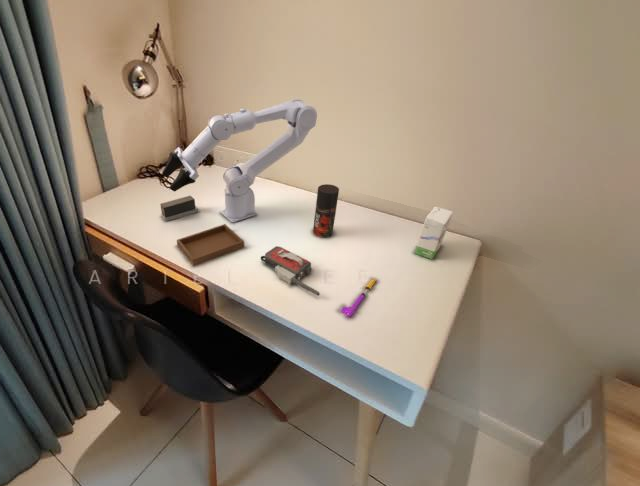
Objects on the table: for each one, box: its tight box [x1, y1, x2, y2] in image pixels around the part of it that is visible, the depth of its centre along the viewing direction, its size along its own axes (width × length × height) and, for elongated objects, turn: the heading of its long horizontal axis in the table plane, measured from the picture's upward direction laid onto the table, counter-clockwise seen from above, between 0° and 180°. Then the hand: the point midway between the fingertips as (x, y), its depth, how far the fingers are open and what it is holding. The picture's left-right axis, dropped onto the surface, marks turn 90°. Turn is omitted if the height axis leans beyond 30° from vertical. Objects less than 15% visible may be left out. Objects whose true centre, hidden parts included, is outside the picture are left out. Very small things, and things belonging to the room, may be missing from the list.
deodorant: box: [312, 183, 340, 239], centre depth 105 cm, size 6×6×15 cm
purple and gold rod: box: [340, 278, 377, 318], centre depth 86 cm, size 3×1×16 cm
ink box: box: [414, 206, 454, 260], centre depth 98 cm, size 8×5×12 cm, turn 140°
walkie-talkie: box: [260, 246, 320, 296], centre depth 92 cm, size 9×4×20 cm
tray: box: [176, 223, 245, 267], centre depth 104 cm, size 16×11×2 cm
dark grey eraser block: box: [159, 195, 199, 222], centre depth 119 cm, size 12×4×5 cm, turn 121°
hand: (168, 182), depth 107 cm, fingers open, 7 cm apart
